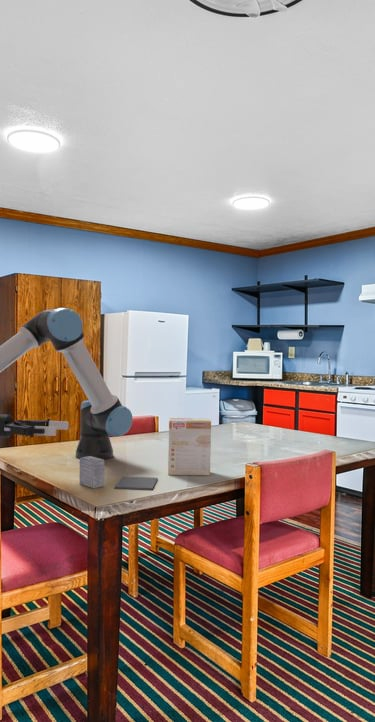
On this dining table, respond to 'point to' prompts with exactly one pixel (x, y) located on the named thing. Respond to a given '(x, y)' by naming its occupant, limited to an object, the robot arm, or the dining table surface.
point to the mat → (136, 483)
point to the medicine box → (92, 472)
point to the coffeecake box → (189, 446)
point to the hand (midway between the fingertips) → (62, 428)
